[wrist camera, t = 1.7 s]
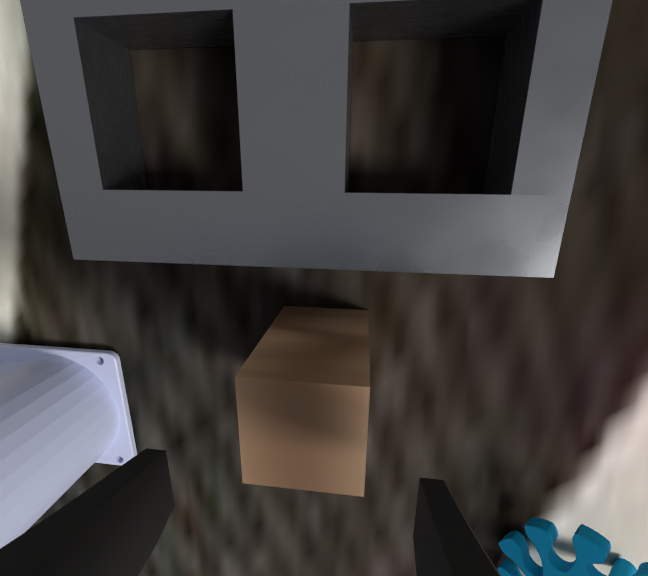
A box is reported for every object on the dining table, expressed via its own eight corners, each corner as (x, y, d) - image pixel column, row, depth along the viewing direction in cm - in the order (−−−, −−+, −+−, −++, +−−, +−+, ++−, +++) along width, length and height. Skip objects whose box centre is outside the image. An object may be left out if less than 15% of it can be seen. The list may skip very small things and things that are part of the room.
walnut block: (286, 379, 19) (242, 482, 12) (284, 305, 18) (234, 377, 11) (364, 385, 18) (363, 496, 12) (368, 310, 17) (369, 387, 11)
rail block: (120, 248, 18) (70, 260, 15) (74, -30, 14) (-3, -89, 11) (519, 261, 16) (556, 279, 12) (577, -65, 12) (648, -149, 9)
